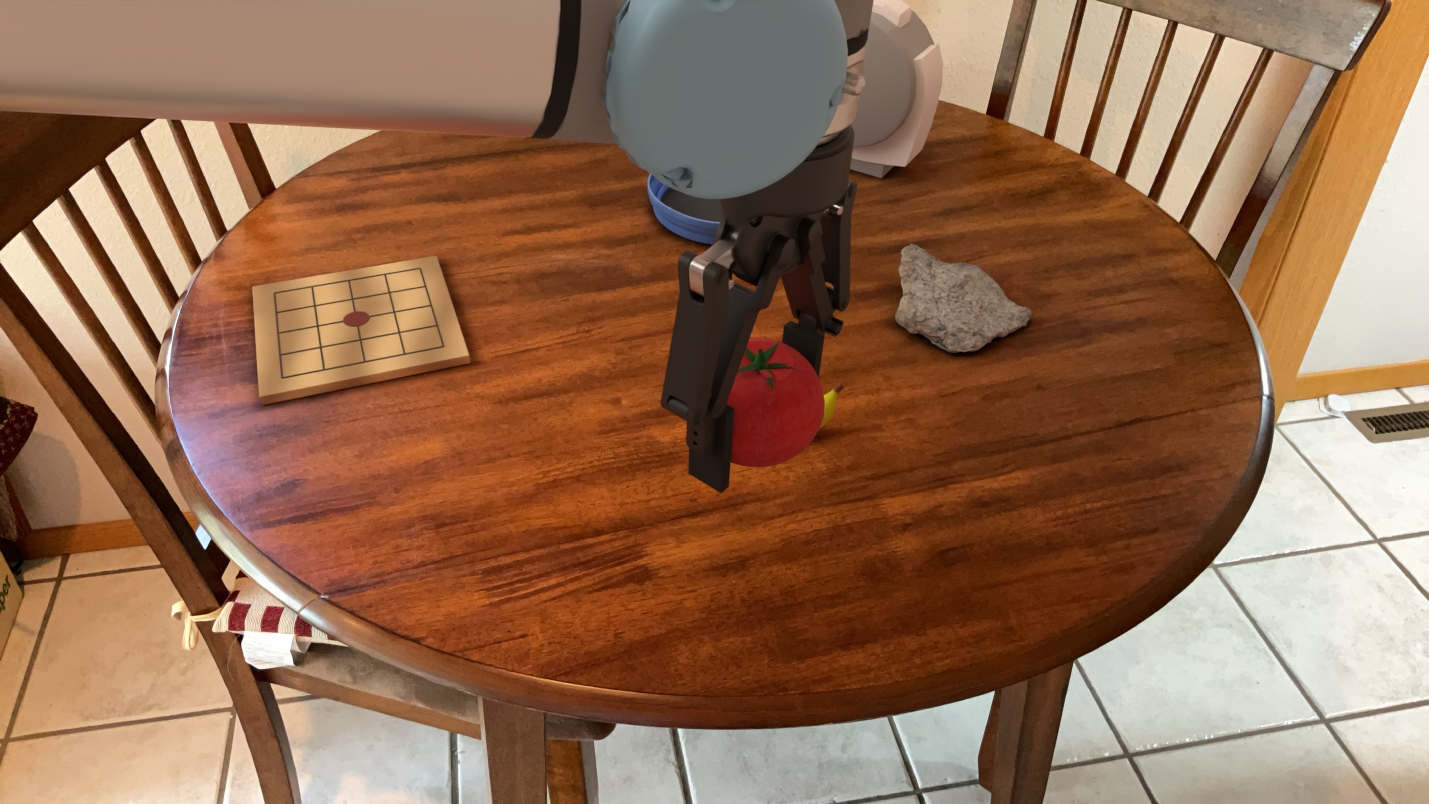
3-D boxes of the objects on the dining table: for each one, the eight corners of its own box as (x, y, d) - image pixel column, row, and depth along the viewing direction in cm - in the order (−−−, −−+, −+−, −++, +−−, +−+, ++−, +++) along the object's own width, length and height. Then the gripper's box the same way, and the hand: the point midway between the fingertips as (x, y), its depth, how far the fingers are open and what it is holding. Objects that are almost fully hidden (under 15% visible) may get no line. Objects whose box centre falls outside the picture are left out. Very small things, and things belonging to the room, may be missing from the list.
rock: (941, 332, 89) (866, 240, 99) (926, 367, 92) (854, 274, 101) (1056, 323, 94) (974, 236, 104) (1038, 356, 97) (960, 268, 107)
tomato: (806, 503, 61) (821, 406, 56) (670, 476, 62) (672, 378, 57) (827, 414, 67) (842, 320, 62) (703, 391, 69) (708, 297, 64)
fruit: (832, 418, 85) (838, 374, 82) (842, 434, 84) (850, 389, 81) (723, 443, 83) (726, 398, 79) (732, 460, 81) (735, 414, 78)
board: (261, 405, 84) (258, 396, 84) (254, 294, 97) (251, 285, 96) (470, 363, 90) (469, 354, 89) (438, 263, 102) (436, 254, 102)
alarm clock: (929, 165, 123) (961, 0, 110) (904, 192, 118) (934, 22, 104) (802, 129, 130) (818, -30, 117) (773, 153, 124) (785, -11, 111)
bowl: (619, 226, 109) (618, 197, 107) (690, 161, 122) (690, 134, 120) (767, 267, 104) (770, 238, 101) (825, 194, 116) (828, 167, 114)
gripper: (707, 220, 42) (693, 566, 56) (948, 79, 55) (886, 388, 69) (582, 165, 45) (599, 504, 60) (836, 44, 58) (799, 346, 73)
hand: (753, 441), depth 65 cm, fingers closed on tomato, 9 cm apart
